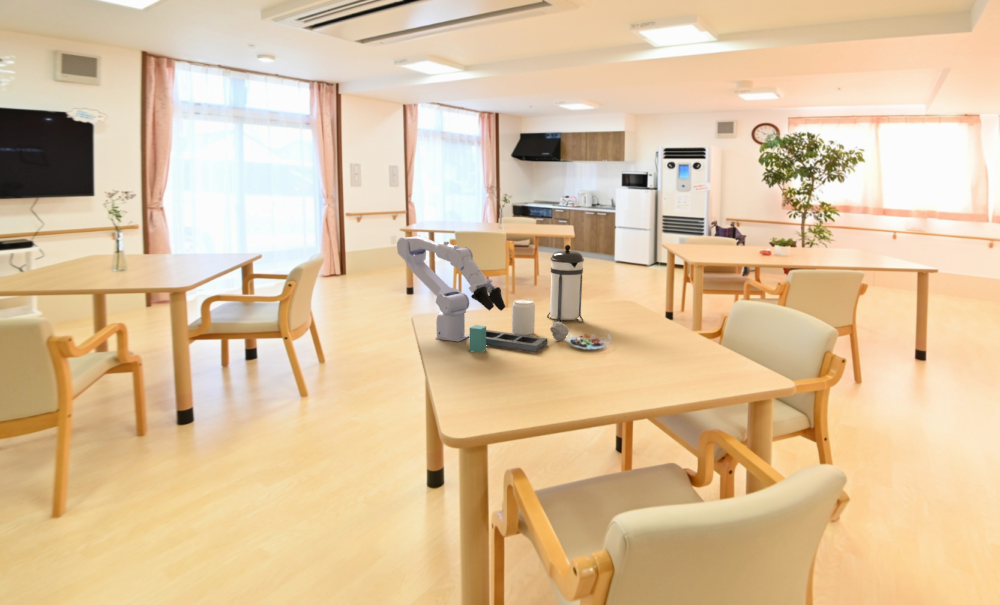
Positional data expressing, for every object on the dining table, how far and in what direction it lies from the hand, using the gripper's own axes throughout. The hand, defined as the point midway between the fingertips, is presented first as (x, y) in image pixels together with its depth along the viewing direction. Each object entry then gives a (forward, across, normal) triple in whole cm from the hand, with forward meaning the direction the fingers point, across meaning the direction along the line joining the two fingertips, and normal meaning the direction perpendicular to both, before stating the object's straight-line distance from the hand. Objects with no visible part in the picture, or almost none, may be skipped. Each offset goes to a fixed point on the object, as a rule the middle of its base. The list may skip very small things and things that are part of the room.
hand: (497, 308), depth 195 cm
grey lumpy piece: (+16, +23, -2) cm, 28 cm away
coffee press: (+4, +51, +2) cm, 51 cm away
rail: (+8, +10, +9) cm, 16 cm away
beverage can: (+5, +25, +8) cm, 27 cm away
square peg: (+6, -1, +14) cm, 15 cm away
